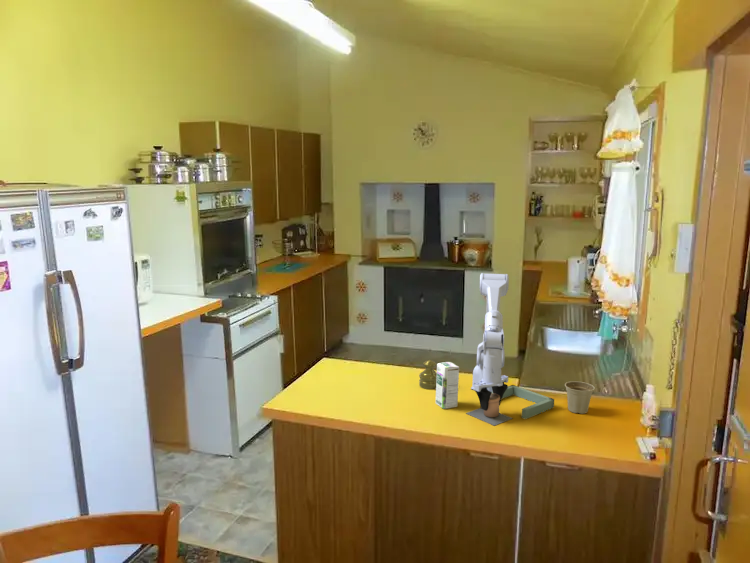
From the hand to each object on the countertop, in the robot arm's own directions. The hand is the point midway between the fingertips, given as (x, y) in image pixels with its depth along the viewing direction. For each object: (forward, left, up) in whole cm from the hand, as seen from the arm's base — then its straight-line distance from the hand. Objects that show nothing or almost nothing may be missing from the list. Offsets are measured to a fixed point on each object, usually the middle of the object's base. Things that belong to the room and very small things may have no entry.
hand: (490, 407), depth 185 cm
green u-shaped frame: (0, +15, -3) cm, 15 cm away
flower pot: (+15, +27, -3) cm, 31 cm away
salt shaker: (-32, +3, -3) cm, 32 cm away
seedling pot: (0, 0, -2) cm, 2 cm away
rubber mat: (0, -1, -3) cm, 3 cm away
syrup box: (-15, -5, -3) cm, 16 cm away
